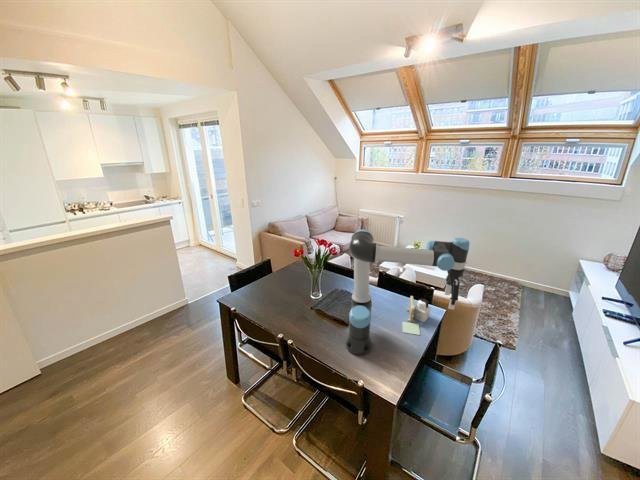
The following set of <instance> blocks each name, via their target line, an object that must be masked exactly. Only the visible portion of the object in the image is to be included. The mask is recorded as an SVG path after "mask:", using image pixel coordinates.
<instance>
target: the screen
mask: <svg viewBox="0 0 640 480" xmlns="http://www.w3.org/2000/svg"><path fill="white" fill-rule="evenodd" d="M408 305H409V306H408V308H406V311H407V312H408V316H409V318H407V322H408V323H415V320H416V319H415V318H413V316H414V309H415V303H414V296H413V295H410V298H409V304H408Z"/></svg>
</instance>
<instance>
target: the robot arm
mask: <svg viewBox="0 0 640 480" xmlns="http://www.w3.org/2000/svg"><path fill="white" fill-rule="evenodd" d="M350 239H351V240H350V242H349V246H348V247H349V248H348V249H349V253H350V255H351V257H352V258H353V286H354V287H353V293H352V294H351V309H350V311H349V314H348V319H349V320H348V334H347V336H346V339H345V342H344V343H345V348H346V349H347V351H348V352H349V353H350V354H353V355H356V356H364V355H367V354H368V353H370V352H371V351H372V348H373V342H372V339H371V336H370V333H371V321H372V308H373V303H372V295H371V294H370V263H375V264H376V263H377V262H387V263H395V264H396V263H399V264H406V265H407V264H409V265H417V266H429V267H436V268H438V269H439V270H441V271H444V272H447V277H446V279H445V281H446V282H445V283H446V284H445V290H444V296H450V295H451V297H449V304H448V310H453V311H454V310H455V307H456V303H457V302H458V301H459V289H460V279H459V278H460V277H463V276H464V272H465V267H466V265H467V259H468V253H469V250H470V241H469V240H468V239H466V238H464V237H454V238H453V240H452V241H439V240H428V241H427V242H426V248H425V249H423V248H422V249H421V248H409V247H400V246H399V247H398V246H389V245H388V246H387V245H379V244H378V243H376V242H375V243H374V236H373V235H372V232H370V231H368V230H367V229H357V230H356V231H355V232H354V233H353V234H352V236H351V238H350Z"/></svg>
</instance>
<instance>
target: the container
mask: <svg viewBox="0 0 640 480" xmlns="http://www.w3.org/2000/svg"><path fill="white" fill-rule="evenodd" d="M416 304H417V305H415V306H414V308H415V309H414V316H413V319H415V320H418V321H420V322H422V323H425V322H426V321H427V320H428V319H429V318H430V314H431V313H430V312H431V306H429V300H427V299H425V298H419V299H418V300H417V303H416Z"/></svg>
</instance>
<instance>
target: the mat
mask: <svg viewBox="0 0 640 480" xmlns="http://www.w3.org/2000/svg"><path fill="white" fill-rule="evenodd" d="M401 323H402V325H401V326H402V333H404V334H409V335H415V336H416V335H417V336H421V331H420V324H419V323H415V322H413V323H411V322H408V321H407V322H406V321H402V322H401Z"/></svg>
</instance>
